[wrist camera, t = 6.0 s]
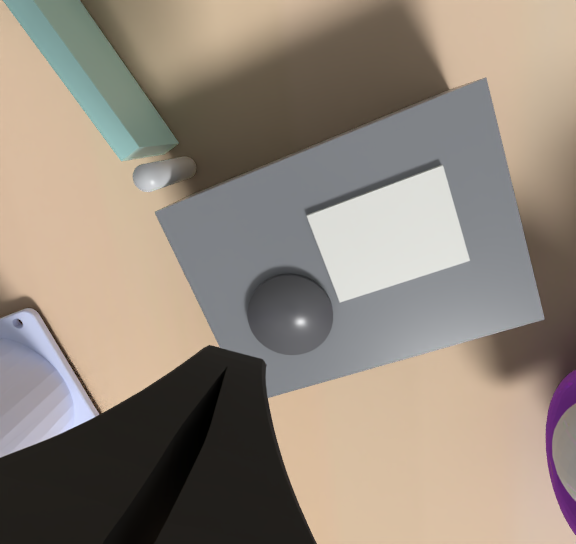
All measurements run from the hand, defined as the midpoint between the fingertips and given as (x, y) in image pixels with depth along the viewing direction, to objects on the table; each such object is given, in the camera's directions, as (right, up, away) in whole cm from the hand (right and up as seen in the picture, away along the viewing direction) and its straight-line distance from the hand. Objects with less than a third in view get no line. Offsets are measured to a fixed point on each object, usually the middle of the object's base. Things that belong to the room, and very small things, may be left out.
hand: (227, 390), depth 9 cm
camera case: (+4, +4, +9) cm, 10 cm away
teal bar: (-6, +11, +7) cm, 14 cm away
